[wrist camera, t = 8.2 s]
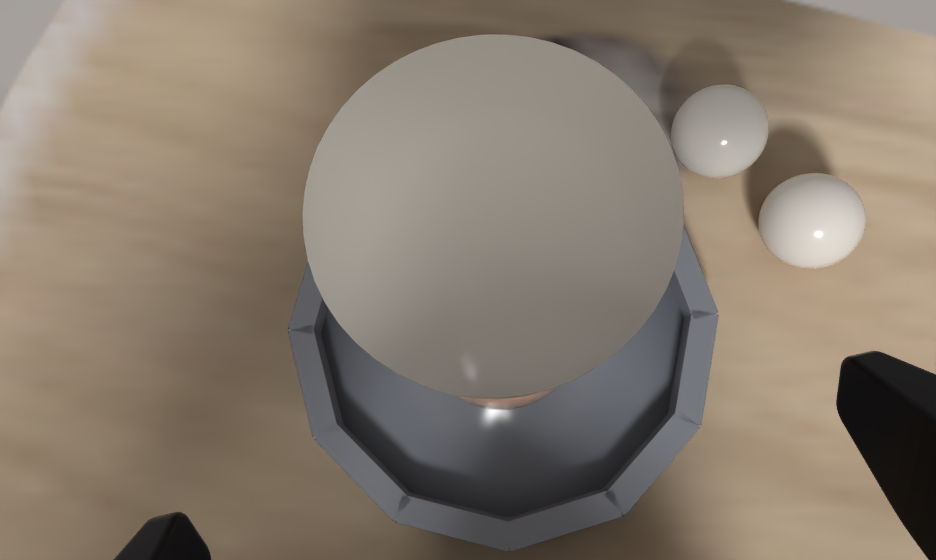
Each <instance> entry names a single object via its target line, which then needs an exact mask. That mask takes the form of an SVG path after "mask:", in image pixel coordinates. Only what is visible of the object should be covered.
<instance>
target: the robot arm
mask: <svg viewBox="0 0 936 560" xmlns="http://www.w3.org/2000/svg"><path fill="white" fill-rule="evenodd" d="M836 404H837V410H838V414H839V416H840V419H841V420H842V422H843V424H844V426H845V427H846V429H847V431H848V433H849V434H850V436H851V438H852V439H853V441H854V443H855V445H856V446H857V448H858V450H859V451H860V453H861V455H862V456H863V458H864V460H865V462H866V463H867V465H868V467H869V468H870V470H871V472H872V474H873V475H874V477H875V479H876V480H877V482H878V484H879V486H880V487H881V489H882V491H883V492H884V494H885V496H886V497H887V499H888V501H889V503H890V504H891V506H892V507H893V509H894V511H895V512H896V514H897V515H898V517H899V519H900V520H901V522H902V523H903V525H904V526H905V528H906V529H907V530H908V532H909V533H910V535H911V536H912V538H913V539H914V540H915V542H916V543H917V544H918V546H919V547H920V548H921V550H922V551H923V553H924V554H925V555H926V557H927V558H928V559H929V560H936V374H933V373H931V372H928V371H926V370H924V369H921V368H919V367H916V366H914V365H912V364H909V363H907V362H904V361H902V360H899V359H897V358H895V357H892V356H890V355H887V354H885V353H882V352H879V351H870V352H865V353H861V354H857V355H852V356H848V357H846V358H845V359H844V360H843V362H842V364H841V369H840V377H839V385H838V392H837V400H836ZM114 560H211V556H210V552H209V549H208V547H207V545H206V544H205V542H204V541H203V539H202V538H201V536H200V535H199V533H198V532H197V530H196V529H195V527H194V526H193V524H192V523H191V521H190V520H189V518H188V517H187V516H186V515H185V514H183V513H181V512H175V513H170V514H166V515H162V516H158V517H154V518H152V519H150V520H149V521H148V522H146V523H145V524H144V526H143V527H142V528H141V529H140V530H139V531H138V532H137V534H136V535H135V536H134V537H133V538H132V539H131V540H130V542H129V543H128V544H127V545H126V546H125V547H124V548H123V550H122V551H121V552H120V553H119V554H118V555H117V557H116V558H115V559H114Z"/></svg>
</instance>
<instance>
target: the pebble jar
mask: <svg viewBox="0 0 936 560" xmlns="http://www.w3.org/2000/svg"><path fill="white" fill-rule="evenodd" d="M683 224H684V205H683V191H682V185H681V180H680V174H679V170H678V167H677V164H676V161H675V158H674V155H673V152H672V148H671V146H670V144H669V142H668V140H667V138H666V136H665V134H664V132H663V130H662V128H661V126H660V125H659V123H658V122H657V120H656V119H655V117H654V116H653V114H652V113H651V111H650V110H649V108H648V107H647V106H646V105H645V103H644V102H643V101H642V100H641V99H640V98H639V97H638V95H637V94H636V93H635V92H634V91H633V90H632V89H631V88H630V87H629V86H628V85H627V84H625V83H624V82H623V81H622V80H621V79H620V78H619V77H617V76H616V75H615V74H614V73H612V72H611V71H609V70H608V69H606V68H605V67H603V66H602V65H600V64H599V63H598V62H596V61H594V60H592V59H590V58H588V57H586V56H584V55H583V54H581V53H579V52H577V51H575V50H572V49H569V48H566V47H564V46H561V45H558V44H556V43H553V42H549V41H544V40H540V39H536V38H532V37H525V36H516V35H507V34H499V35H476V36H467V37H459V38H455V39H451V40H447V41H443V42H439V43H436V44H433V45H430V46H427V47H425V48H422V49H419V50H417V51H414V52H412V53H410V54H408V55H406V56H404V57H402V58H401V59H399V60H397V61H395V62H393V63H392V64H390V65H389V66H387V67H386V68H384V69H383V70H381V71H380V72H378V73H377V74H375V75H374V76H373V77H372V78H371V79H369V80H368V81H367V82H366V83H365V84H364V85H362V86H361V87H360V88H359V89H358V90H357V91H356V92H355V93H354V94H353V95H352V96H351V97H350V99H349V100H348V101H347V102H346V103H345V104H344V105H343V106H342V108H341V109H340V110H339V112H338V113H337V115H336V116H335V117H334V119H333V120H332V122H331V123H330V124H329V126H328V128H327V130H326V132H325V134H324V136H323V137H322V139H321V141H320V143H319V145H318V147H317V150H316V153H315V155H314V158H313V160H312V163H311V166H310V169H309V174H308V178H307V182H306V186H305V192H304V202H303V237H304V242H305V248H306V254H307V259H308V262H309V265H310V268H311V272H312V275H313V278H314V281H315V283H316V285H317V287H318V289H319V291H320V294H321V296H322V298H323V300H324V302H325V304H326V305H327V307H328V308H329V310H330V311H331V313H332V314H333V316H334V317H335V319H336V320H337V322H338V323H339V325H340V326H341V327H342V328H343V329H344V330H345V331H346V332H347V334H348V335H349V336H350V337H351V338H352V339H353V340H354V341H355V342H356V343H357V344H358V345H359V346H360V347H361V348H363V349H364V350H365V351H366V352H367V353H368V354H370V355H371V356H372V357H373V358H374V359H376V360H377V361H379V362H380V363H382V364H384V365H385V366H387V367H388V368H390V369H391V370H393V371H394V372H396V373H398V374H400V375H402V376H404V377H406V378H408V379H410V380H412V381H414V382H416V383H418V384H421V385H423V386H425V387H427V388H430V389H434V390H437V391H440V392H443V393H447V394H450V395H455V396H456V397H458V398H459V399H461V400H463V401H465V402H467V403H469V404H471V405H474V406H477V407H481V408H485V409H491V410H510V409H517V408H521V407H525V406H528V405H530V404H533V403H535V402H537V401H539V400H541V399H543V398H544V397H546V396H547V395H549V394H550V393H551V392H553V391H554V390H555V389H556V388H557V387H559V386H562V385H564V384H567V383H570V382H571V381H573V380H575V379H577V378H579V377H581V376H582V375H584V374H586V373H588V372H590V371H591V370H593V369H594V368H596V367H597V366H598V365H600V364H601V363H602V362H604V361H605V360H606V359H608V358H609V357H610V356H612V355H613V354H614V353H616V352H617V351H618V350H620V349H621V348H622V347H623V346H624V345H625V344H626V343H627V342H628V341H629V340H630V339H631V338H632V337H633V336H634V335H635V334H636V333H637V332H638V331H639V330H640V329H641V327H642V326H643V325H644V323H645V322H646V321H647V320H648V318H649V317H650V316H651V314H652V313H653V312H654V310H655V308H656V307H657V305H658V303H659V301H660V300H661V298H662V296H663V295H664V293H665V291H666V289H667V287H668V284H669V282H670V279H671V277H672V274H673V272H674V269H675V267H676V263H677V259H678V255H679V251H680V247H681V243H682V233H683Z"/></svg>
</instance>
